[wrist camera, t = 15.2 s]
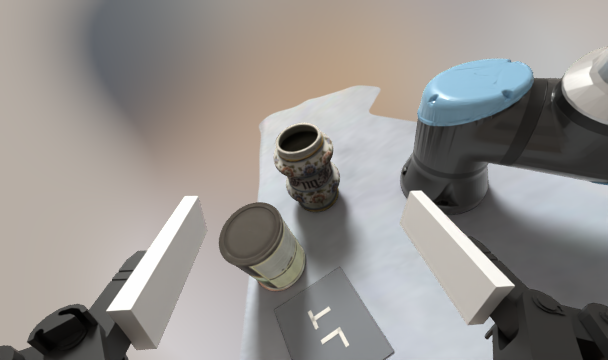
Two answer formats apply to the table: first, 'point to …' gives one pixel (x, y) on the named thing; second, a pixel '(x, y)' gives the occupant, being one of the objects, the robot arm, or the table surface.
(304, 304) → the gray tile
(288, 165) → the apothecary jar
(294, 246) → the coffee can
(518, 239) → the table surface
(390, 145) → the table surface
